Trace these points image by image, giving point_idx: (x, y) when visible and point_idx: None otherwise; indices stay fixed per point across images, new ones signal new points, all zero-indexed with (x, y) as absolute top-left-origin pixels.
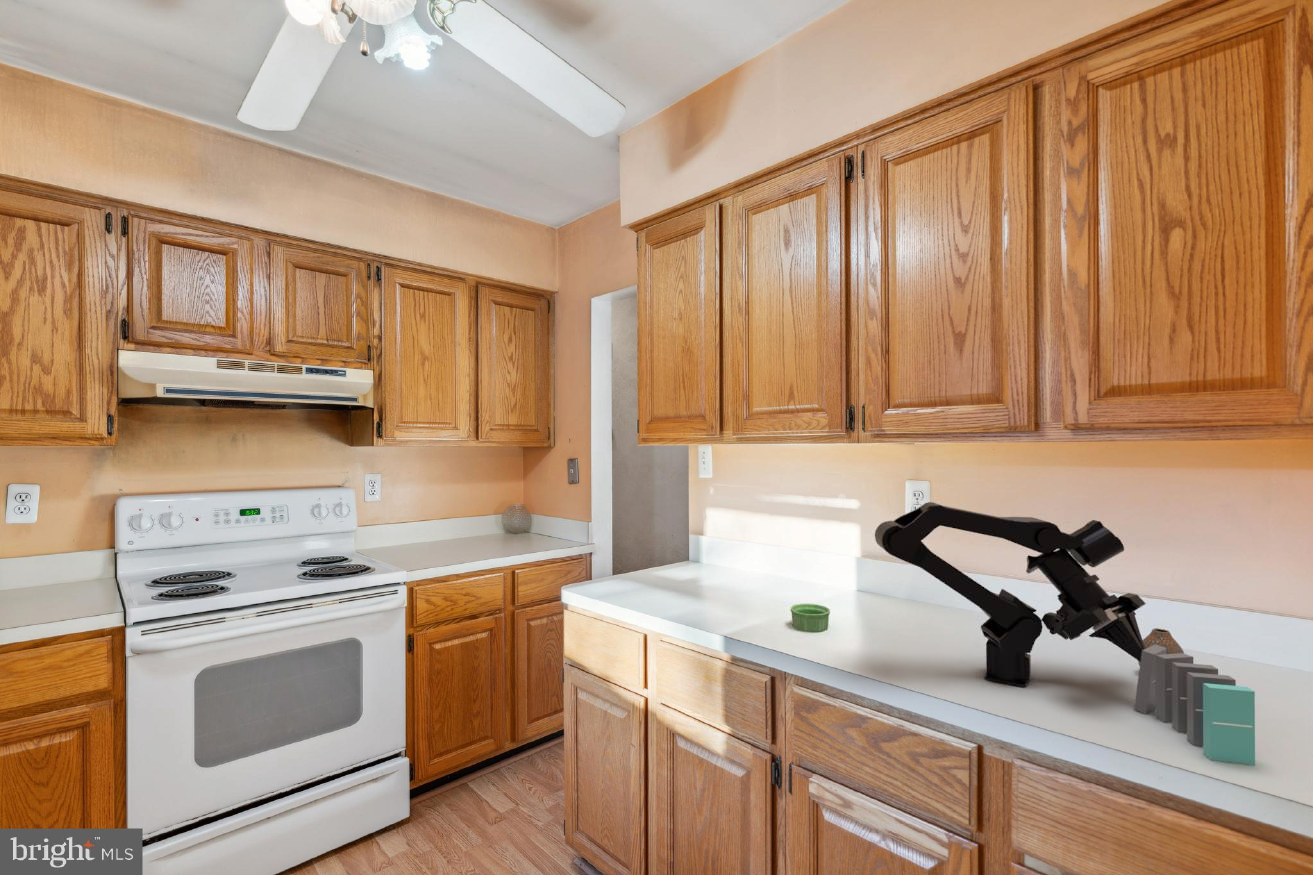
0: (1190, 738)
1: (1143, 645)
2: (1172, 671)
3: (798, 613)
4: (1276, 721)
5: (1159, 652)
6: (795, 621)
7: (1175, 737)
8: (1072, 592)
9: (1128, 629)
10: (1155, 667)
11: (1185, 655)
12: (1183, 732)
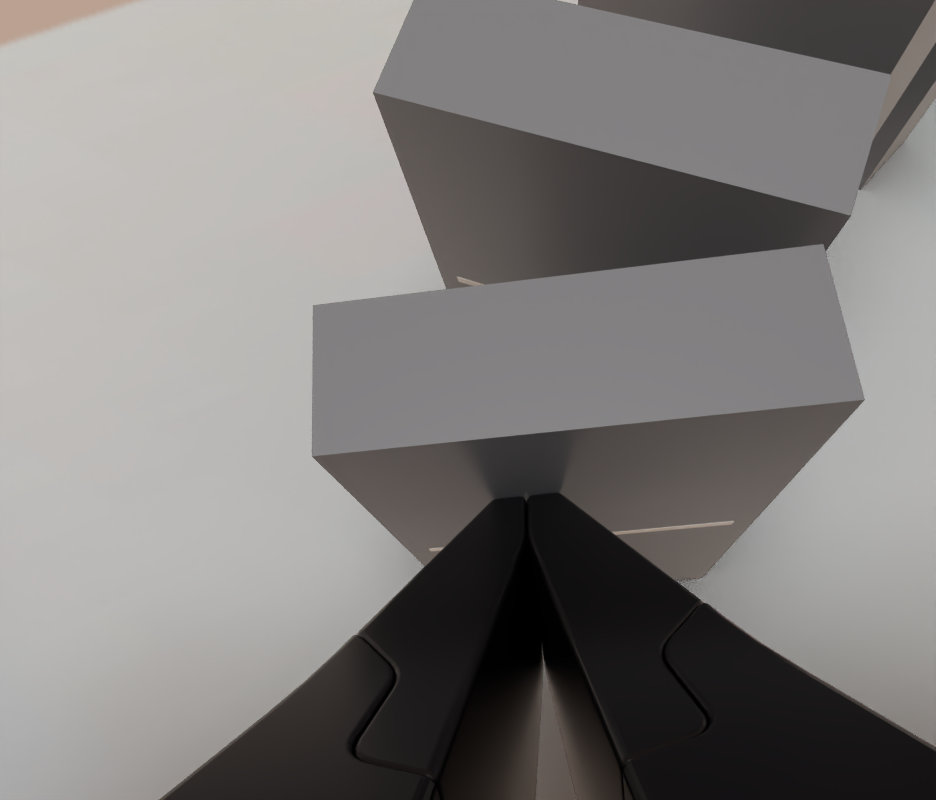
0: (896, 146)
1: (463, 563)
2: (908, 48)
3: None
4: (92, 102)
5: (601, 276)
6: None
7: (891, 236)
8: None
9: (854, 730)
10: None
11: (453, 38)
12: None
